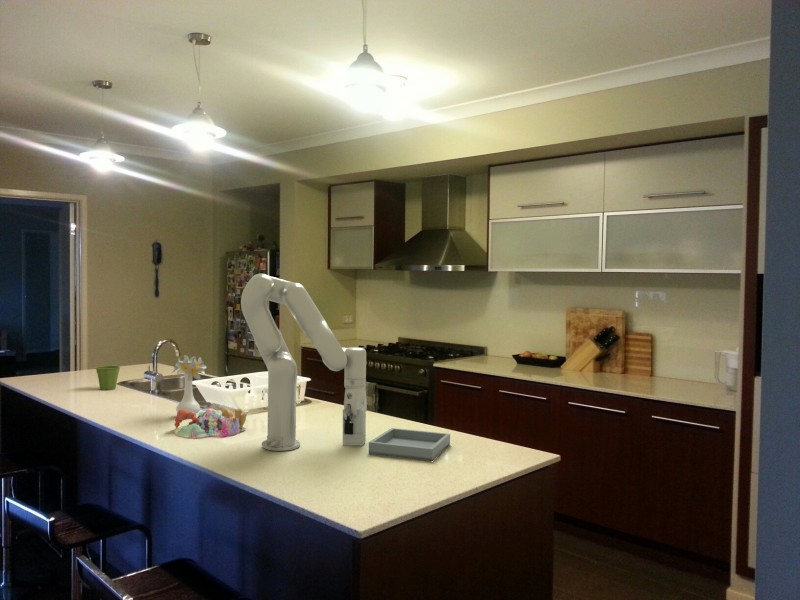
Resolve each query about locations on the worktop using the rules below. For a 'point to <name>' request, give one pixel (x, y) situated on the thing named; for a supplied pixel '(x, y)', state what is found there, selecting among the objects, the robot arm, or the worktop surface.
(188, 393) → the flower vase
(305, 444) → the worktop surface
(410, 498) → the worktop surface
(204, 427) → the candy landscape model
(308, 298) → the robot arm
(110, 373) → the plant pot
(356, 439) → the supplement box
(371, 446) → the tray
